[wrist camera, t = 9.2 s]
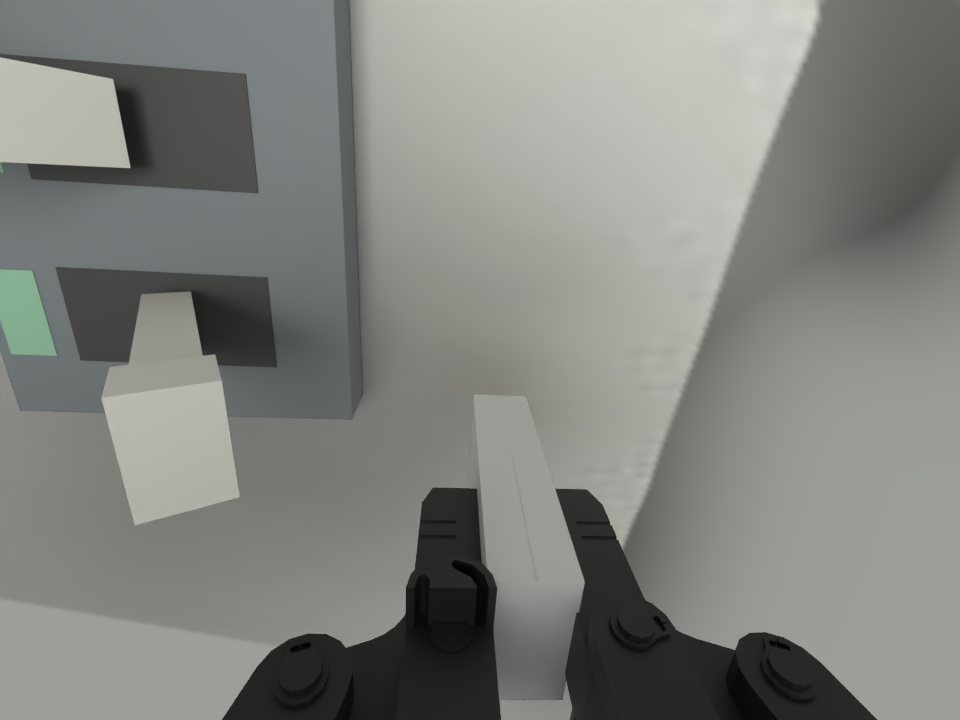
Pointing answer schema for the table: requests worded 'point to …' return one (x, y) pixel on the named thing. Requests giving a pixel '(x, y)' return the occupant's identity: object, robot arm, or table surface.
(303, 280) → the breaker panel
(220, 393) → the handle
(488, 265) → the table surface
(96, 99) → the handle
